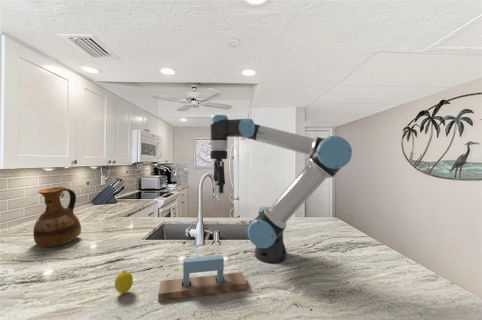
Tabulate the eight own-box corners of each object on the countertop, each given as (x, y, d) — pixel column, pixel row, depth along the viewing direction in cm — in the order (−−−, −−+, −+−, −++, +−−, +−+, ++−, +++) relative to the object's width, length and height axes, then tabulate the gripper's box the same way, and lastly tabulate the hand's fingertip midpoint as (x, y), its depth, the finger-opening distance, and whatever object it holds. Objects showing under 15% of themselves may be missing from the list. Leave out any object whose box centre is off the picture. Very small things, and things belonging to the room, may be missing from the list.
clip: (222, 284, 87) (222, 255, 87) (223, 288, 84) (223, 258, 84) (183, 288, 84) (183, 258, 84) (183, 293, 81) (183, 262, 81)
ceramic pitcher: (25, 246, 121) (24, 188, 120) (66, 233, 139) (66, 183, 139) (48, 252, 113) (47, 190, 113) (89, 238, 132) (88, 185, 131)
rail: (241, 278, 92) (241, 272, 92) (246, 290, 84) (247, 283, 84) (160, 287, 85) (160, 280, 85) (158, 301, 77) (158, 293, 77)
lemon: (119, 289, 84) (118, 267, 83) (135, 288, 84) (135, 266, 84) (111, 298, 78) (111, 275, 78) (129, 298, 79) (129, 274, 78)
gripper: (208, 150, 116) (207, 193, 117) (213, 149, 92) (213, 203, 93) (223, 150, 118) (222, 192, 119) (232, 150, 94) (232, 202, 94)
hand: (218, 197), depth 106 cm, fingers open, 13 cm apart
